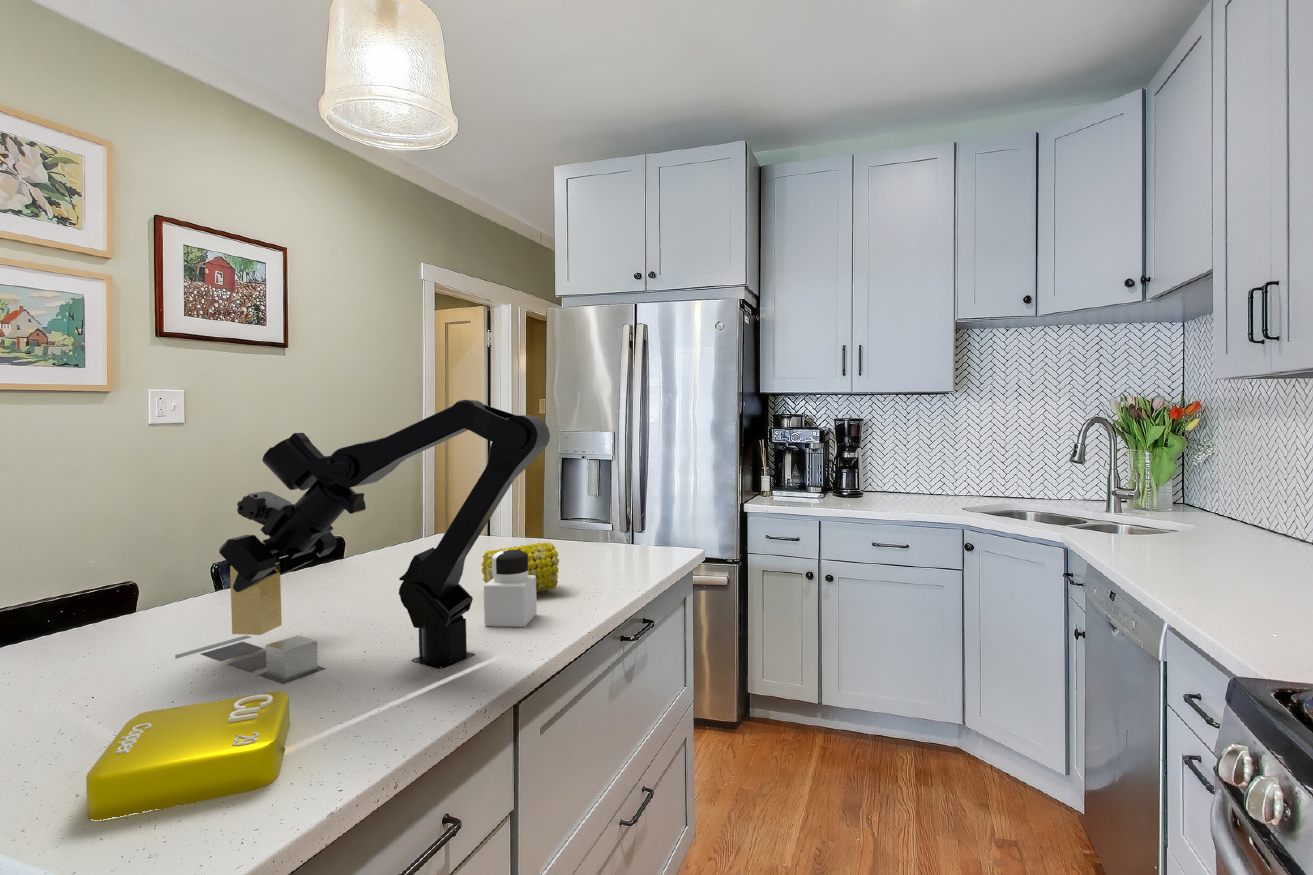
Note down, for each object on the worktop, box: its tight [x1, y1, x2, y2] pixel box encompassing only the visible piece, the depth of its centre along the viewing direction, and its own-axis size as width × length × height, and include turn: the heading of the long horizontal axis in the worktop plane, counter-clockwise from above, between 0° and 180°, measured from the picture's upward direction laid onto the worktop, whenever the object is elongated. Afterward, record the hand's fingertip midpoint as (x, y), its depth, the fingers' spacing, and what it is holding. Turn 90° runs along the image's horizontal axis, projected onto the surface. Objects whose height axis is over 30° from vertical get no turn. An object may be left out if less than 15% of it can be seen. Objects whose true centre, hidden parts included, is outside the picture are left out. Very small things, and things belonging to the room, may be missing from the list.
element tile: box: [85, 690, 291, 820], centre depth 67 cm, size 15×15×5 cm
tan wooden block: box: [229, 562, 283, 636], centre depth 98 cm, size 4×4×10 cm
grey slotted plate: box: [174, 634, 327, 685], centre depth 95 cm, size 26×10×1 cm, turn 59°
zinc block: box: [265, 635, 319, 681], centre depth 91 cm, size 4×4×4 cm
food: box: [481, 541, 560, 593], centre depth 130 cm, size 15×12×10 cm
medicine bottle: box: [483, 550, 538, 628], centre depth 114 cm, size 7×7×12 cm
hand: (247, 585), depth 98 cm, fingers closed on tan wooden block, 4 cm apart
